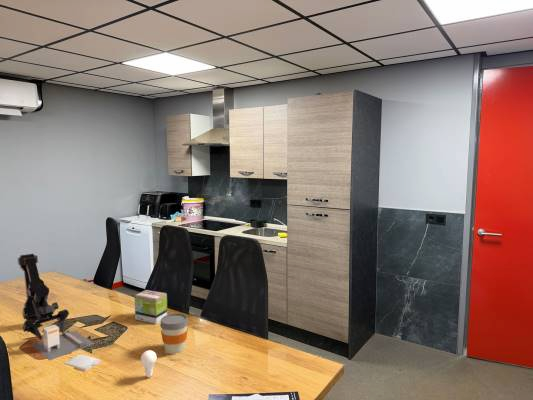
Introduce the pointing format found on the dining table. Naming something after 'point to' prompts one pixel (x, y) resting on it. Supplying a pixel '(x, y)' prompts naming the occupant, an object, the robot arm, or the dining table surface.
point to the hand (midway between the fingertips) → (52, 335)
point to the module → (51, 337)
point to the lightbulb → (148, 362)
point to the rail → (74, 339)
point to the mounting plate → (62, 346)
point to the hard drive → (83, 362)
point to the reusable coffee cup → (174, 332)
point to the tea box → (150, 306)
